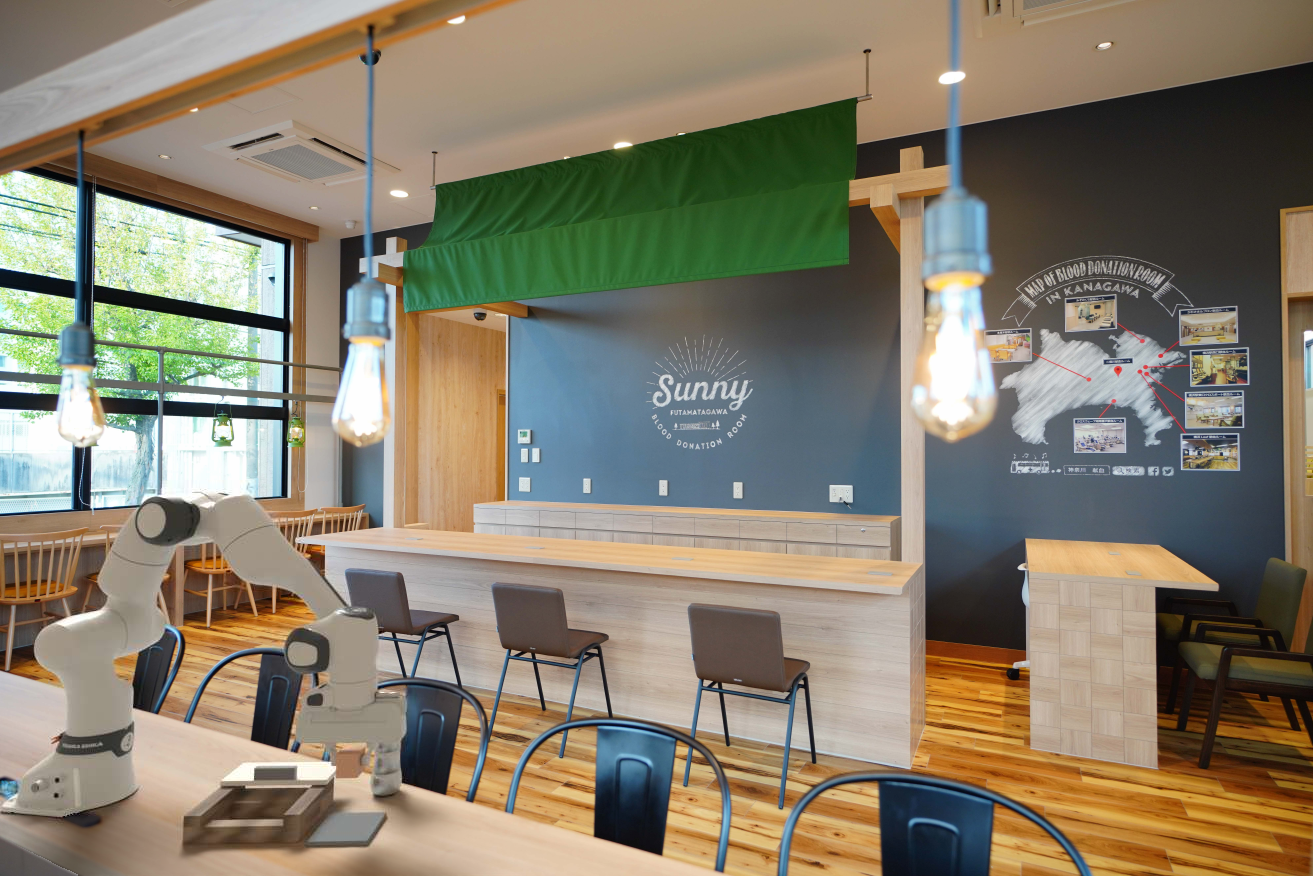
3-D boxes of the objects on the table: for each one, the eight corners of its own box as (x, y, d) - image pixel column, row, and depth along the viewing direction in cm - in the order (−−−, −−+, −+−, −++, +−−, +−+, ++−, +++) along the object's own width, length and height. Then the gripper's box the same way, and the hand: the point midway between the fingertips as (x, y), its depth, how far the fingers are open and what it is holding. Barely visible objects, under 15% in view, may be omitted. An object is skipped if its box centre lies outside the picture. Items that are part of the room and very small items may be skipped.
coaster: (306, 846, 130) (306, 841, 130) (330, 816, 141) (330, 812, 141) (367, 845, 130) (367, 840, 131) (386, 816, 141) (386, 812, 141)
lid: (220, 786, 142) (221, 768, 142) (243, 767, 151) (244, 751, 151) (326, 784, 143) (327, 767, 144) (343, 766, 152) (344, 750, 153)
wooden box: (182, 843, 130) (183, 816, 130) (229, 803, 146) (230, 778, 146) (298, 842, 131) (299, 814, 131) (333, 801, 147) (334, 777, 147)
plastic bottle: (371, 802, 147) (374, 705, 148) (368, 789, 153) (371, 696, 154) (403, 796, 150) (406, 701, 151) (399, 783, 156) (402, 692, 157)
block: (335, 778, 134) (336, 754, 134) (344, 769, 138) (344, 746, 138) (357, 778, 134) (357, 753, 134) (364, 769, 138) (365, 745, 138)
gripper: (412, 686, 141) (410, 757, 140) (307, 687, 140) (304, 758, 139) (402, 696, 134) (400, 770, 134) (292, 697, 133) (290, 772, 133)
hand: (350, 764), depth 136 cm, fingers closed on block, 4 cm apart
